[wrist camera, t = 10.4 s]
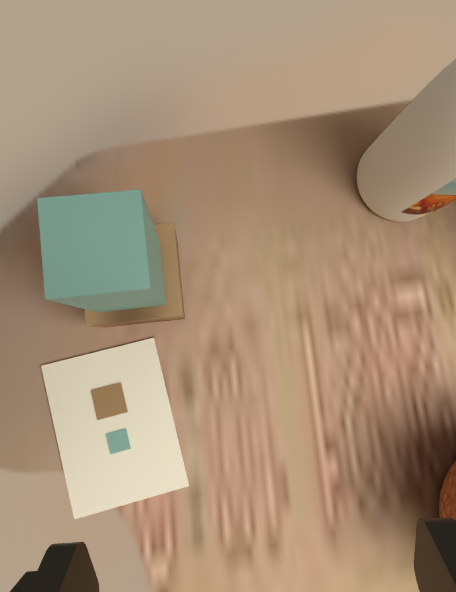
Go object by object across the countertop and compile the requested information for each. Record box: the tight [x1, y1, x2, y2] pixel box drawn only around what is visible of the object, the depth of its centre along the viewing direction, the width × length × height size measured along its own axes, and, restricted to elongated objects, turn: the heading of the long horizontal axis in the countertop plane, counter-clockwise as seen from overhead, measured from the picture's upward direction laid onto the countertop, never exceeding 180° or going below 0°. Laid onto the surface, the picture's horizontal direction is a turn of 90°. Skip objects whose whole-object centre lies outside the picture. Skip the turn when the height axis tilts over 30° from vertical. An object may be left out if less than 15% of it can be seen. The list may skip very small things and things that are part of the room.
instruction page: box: [41, 338, 189, 519], centre depth 33 cm, size 9×12×1 cm
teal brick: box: [37, 190, 166, 312], centre depth 23 cm, size 4×4×10 cm
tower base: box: [84, 223, 185, 327], centre depth 31 cm, size 6×6×6 cm
